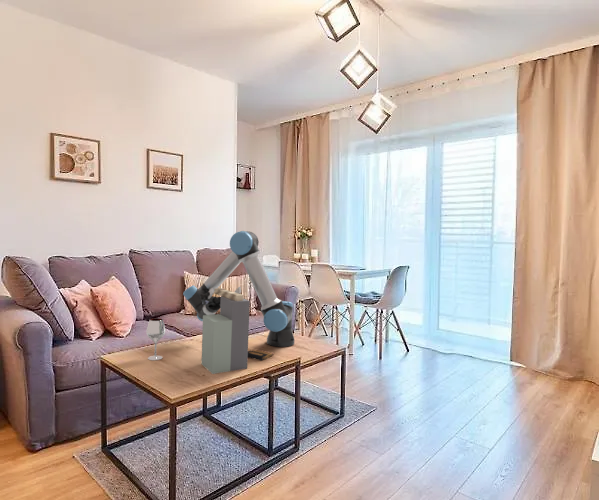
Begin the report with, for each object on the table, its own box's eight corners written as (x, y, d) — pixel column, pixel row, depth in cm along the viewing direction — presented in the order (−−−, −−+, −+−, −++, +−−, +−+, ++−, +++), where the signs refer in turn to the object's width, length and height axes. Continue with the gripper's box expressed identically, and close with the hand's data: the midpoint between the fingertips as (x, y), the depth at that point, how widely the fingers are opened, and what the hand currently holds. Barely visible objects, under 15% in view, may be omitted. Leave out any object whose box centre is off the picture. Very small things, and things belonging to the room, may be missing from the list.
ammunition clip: (243, 352, 194) (258, 347, 204) (243, 356, 194) (257, 351, 204) (262, 356, 188) (275, 351, 199) (261, 360, 188) (275, 355, 199)
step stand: (201, 364, 181) (203, 297, 179) (234, 359, 189) (236, 295, 188) (212, 373, 169) (214, 302, 168) (247, 368, 177) (249, 300, 176)
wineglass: (157, 354, 192) (158, 316, 191) (168, 358, 187) (169, 319, 186) (142, 358, 185) (143, 319, 184) (152, 362, 180) (153, 322, 179)
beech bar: (214, 293, 192) (214, 288, 191) (220, 293, 193) (220, 288, 193) (237, 301, 174) (237, 295, 174) (243, 300, 176) (243, 294, 176)
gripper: (236, 311, 209) (252, 296, 193) (188, 314, 195) (201, 299, 179) (234, 297, 212) (249, 281, 196) (186, 300, 198) (199, 283, 182)
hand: (226, 290), depth 187 cm, fingers open, 13 cm apart
